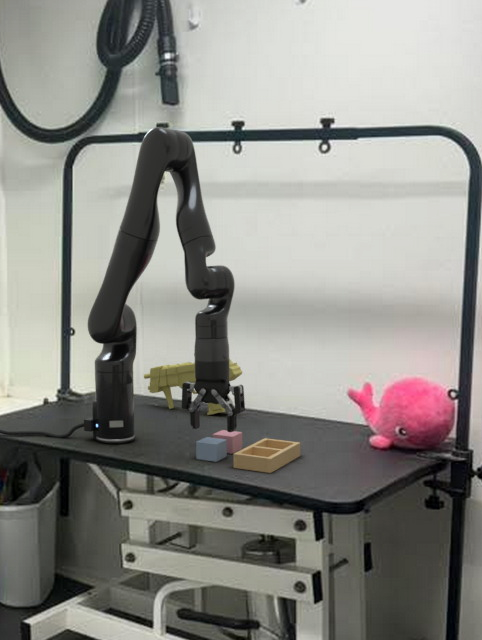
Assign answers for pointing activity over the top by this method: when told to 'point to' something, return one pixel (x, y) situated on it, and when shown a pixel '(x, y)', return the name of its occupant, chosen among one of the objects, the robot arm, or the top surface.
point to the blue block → (211, 449)
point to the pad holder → (266, 455)
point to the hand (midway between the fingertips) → (213, 429)
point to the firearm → (182, 380)
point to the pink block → (230, 440)
